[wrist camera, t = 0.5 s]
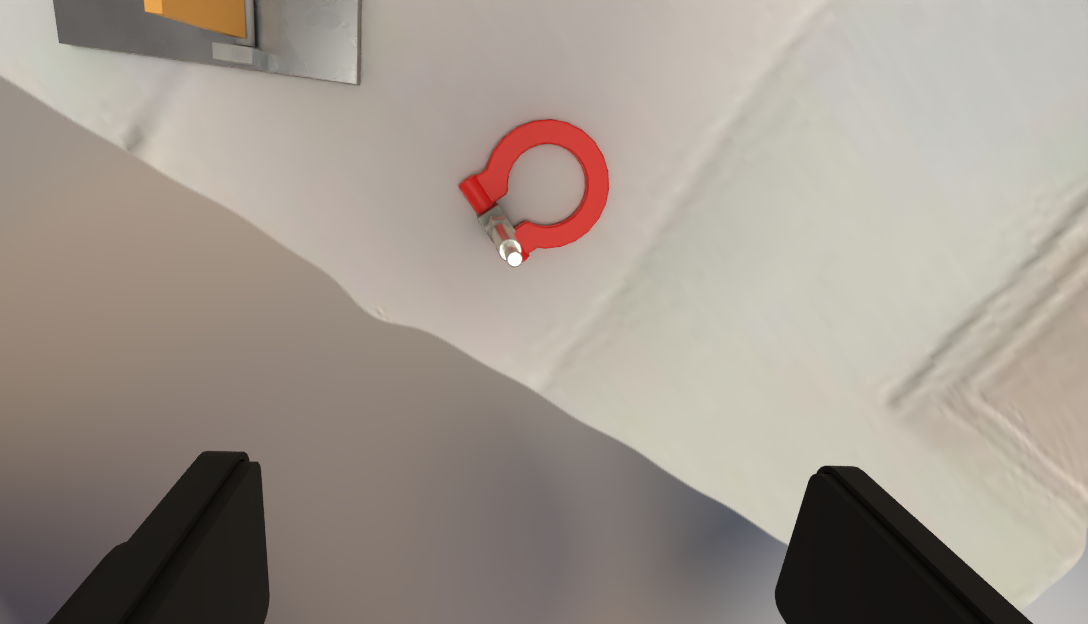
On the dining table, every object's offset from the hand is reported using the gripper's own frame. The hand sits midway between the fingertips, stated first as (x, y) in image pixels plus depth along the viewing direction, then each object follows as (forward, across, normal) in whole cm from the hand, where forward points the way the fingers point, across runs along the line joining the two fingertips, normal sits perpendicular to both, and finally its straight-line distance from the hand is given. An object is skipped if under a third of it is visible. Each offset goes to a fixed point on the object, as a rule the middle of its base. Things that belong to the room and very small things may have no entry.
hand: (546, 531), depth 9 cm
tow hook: (+30, -3, -3) cm, 31 cm away
